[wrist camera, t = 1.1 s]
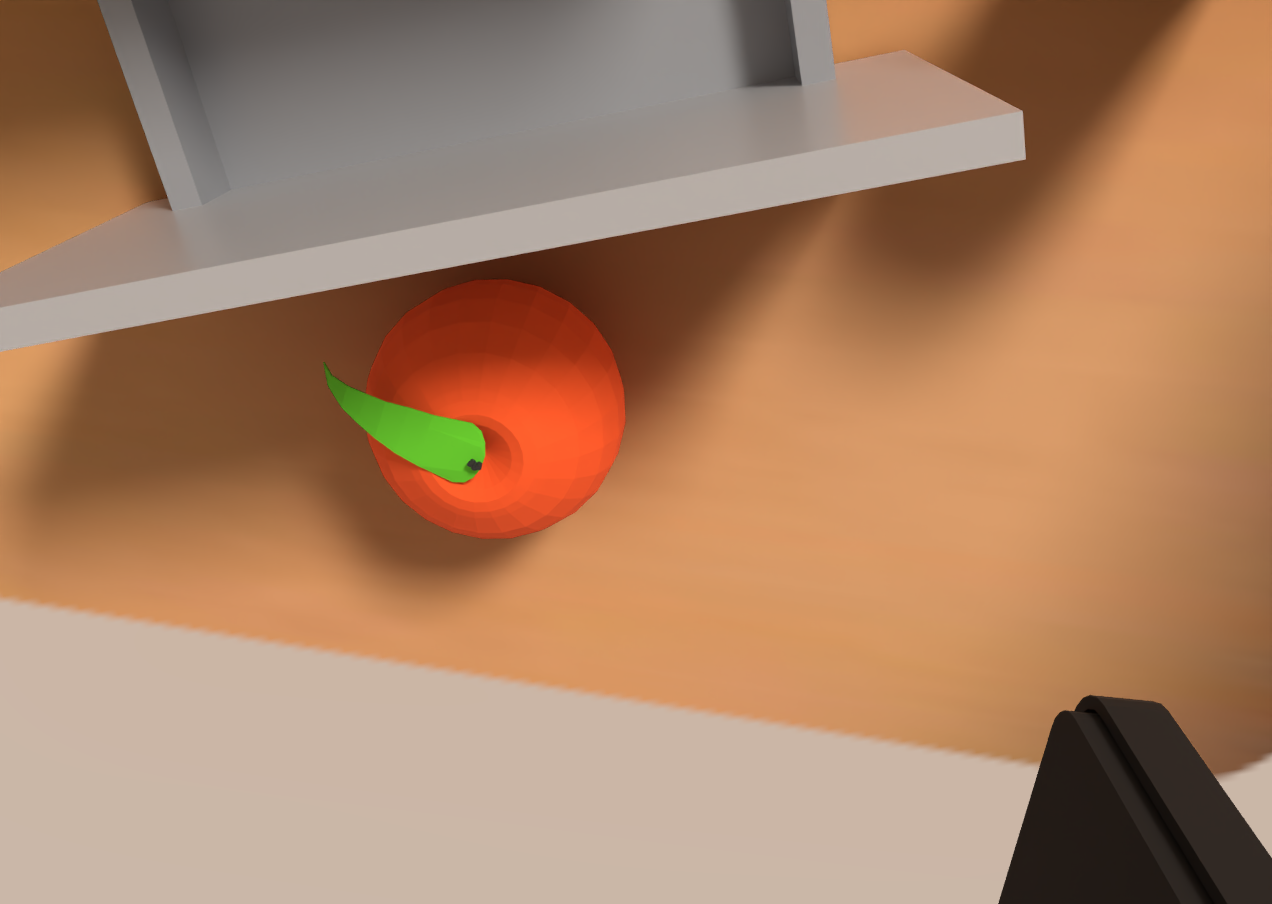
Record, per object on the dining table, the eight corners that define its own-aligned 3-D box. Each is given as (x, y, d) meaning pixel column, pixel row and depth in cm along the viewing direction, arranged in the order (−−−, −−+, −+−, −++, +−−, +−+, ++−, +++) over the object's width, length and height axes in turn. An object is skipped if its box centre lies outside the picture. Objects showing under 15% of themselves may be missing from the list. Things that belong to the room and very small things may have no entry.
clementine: (338, 415, 35) (257, 523, 29) (399, 201, 32) (324, 266, 26) (586, 502, 36) (563, 627, 29) (666, 300, 33) (659, 388, 27)
